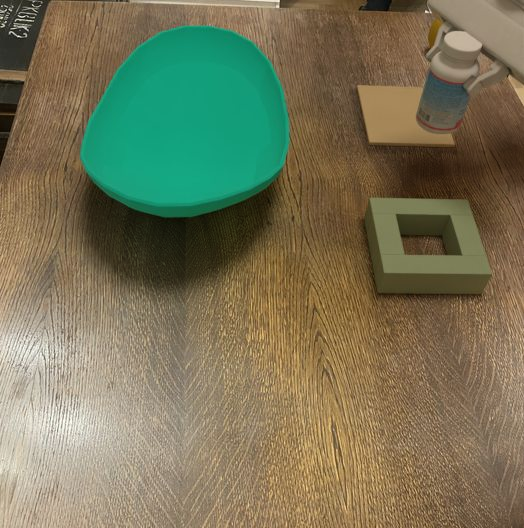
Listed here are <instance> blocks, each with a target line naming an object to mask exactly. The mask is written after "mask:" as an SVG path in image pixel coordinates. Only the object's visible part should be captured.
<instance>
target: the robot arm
mask: <svg viewBox="0 0 524 528" xmlns="http://www.w3.org/2000/svg"><path fill="white" fill-rule="evenodd" d="M426 5H427V7H428V10H429V11H430V12H431V14H432V16H433V17H434V19H435V18H436V19H437V20H439V21H440V22H441V23H443V24H442V26H441V27H440V28H439V30H438V33H437V37H436V40H435V43H434V44H435V45H434V46H433V47H432V48H431V47H430V49H429V50H428V51H427V52H426V54H425V55H424V56H425V59H426V61H427V62H428V63H429V65H430V64H431V61H432V59H433V57H434V56H435V55H436V54H437V53H438V52H440V51H441V45H442V43H443V40H444V37H445V35H446V34H447V33H449V32H453V31H464V32H467V33H468V34H469V35H471V36H472V37H473V38H475V39H476V40H477V41H479V42H480V43H482V48H481V51H480V54H482V55H483V56H484V57H486V58H487V59H488V60H490V61H491V62H492V63H491V64H490V65H489V68H490V70H489V71H486V72H485V73H482V74H480V75H478V77H477V78H476V77H475V76H473V75H471V76H470V77H469V78H468V80H467V81H466V82H464V84H463V85H462V89H463V90H464V92H465V93H466V94H468V95H469V96H470V99H474V98H476V97H477V96H478V95H479V94H480V93H481V91H483V89H488V88H489V87H491V86H494V85H497V84H499V83H501V82H503V81H504V80H505V78H506V77H508V76H511V77H512V78H513V79H515V80H516V81H517V82H519V84H521V85H522V86H524V0H427V1H426Z"/></svg>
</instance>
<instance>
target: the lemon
mask: <svg viewBox="0 0 524 528" xmlns="http://www.w3.org/2000/svg"><path fill="white" fill-rule="evenodd" d="M442 24H443V23H441V22H440V21H439V20H437V19H436V18H435V17H434V19H433V21H432V22H431V25H430V27H429V30H428V34H427V41H428V45H429V47H430V49H431V48H432V47H433V46H434V45H435V44H434V43H435V40H436V37H437V33H438V30H439V28H440V27H441V26H442Z"/></svg>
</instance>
